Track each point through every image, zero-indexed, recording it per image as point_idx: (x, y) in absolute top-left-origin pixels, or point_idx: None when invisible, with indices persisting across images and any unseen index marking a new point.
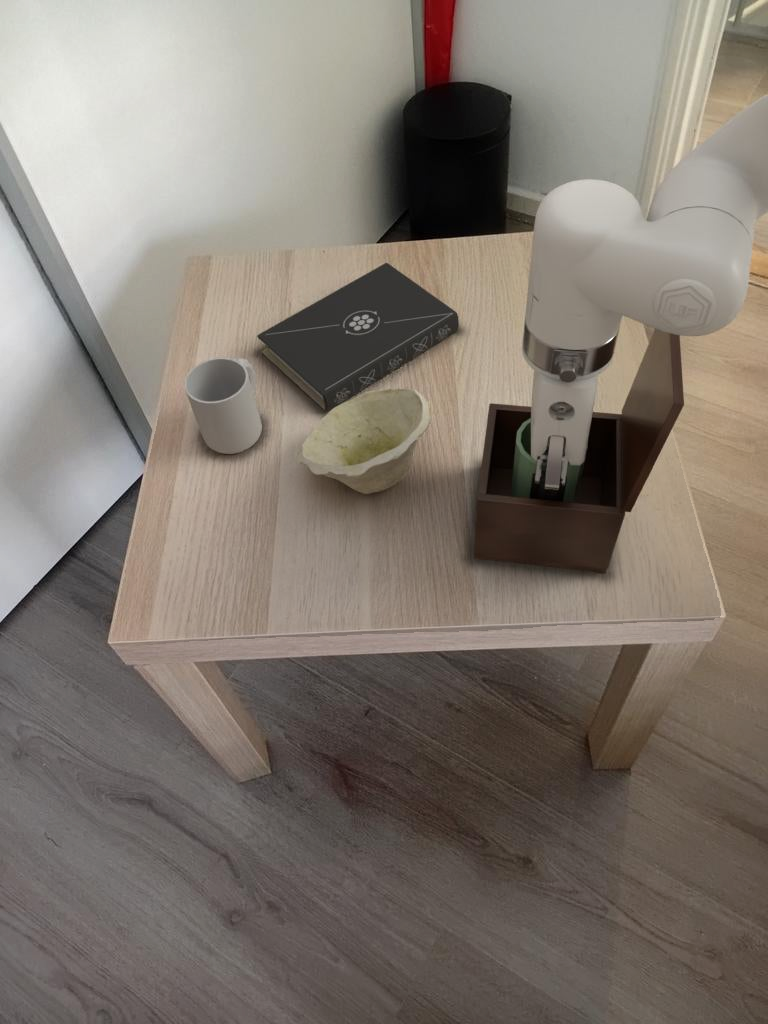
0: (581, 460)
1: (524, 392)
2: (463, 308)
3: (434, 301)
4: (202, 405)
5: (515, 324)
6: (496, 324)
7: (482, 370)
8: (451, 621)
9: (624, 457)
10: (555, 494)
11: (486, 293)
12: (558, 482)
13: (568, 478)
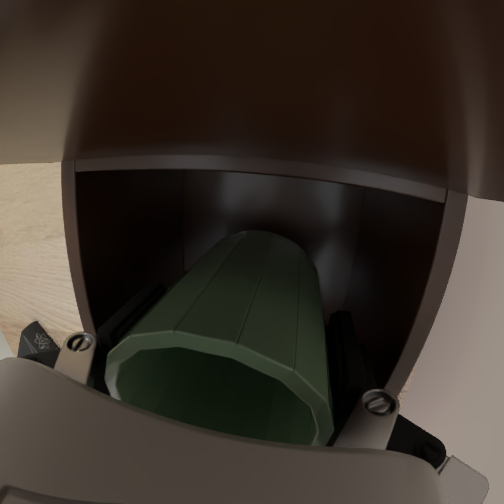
0: (445, 498)
1: (68, 264)
2: (19, 309)
3: (22, 346)
4: None
5: (14, 264)
6: (19, 282)
7: (60, 306)
8: (415, 366)
9: (256, 153)
10: (370, 371)
11: (3, 286)
12: (482, 499)
13: (324, 346)
